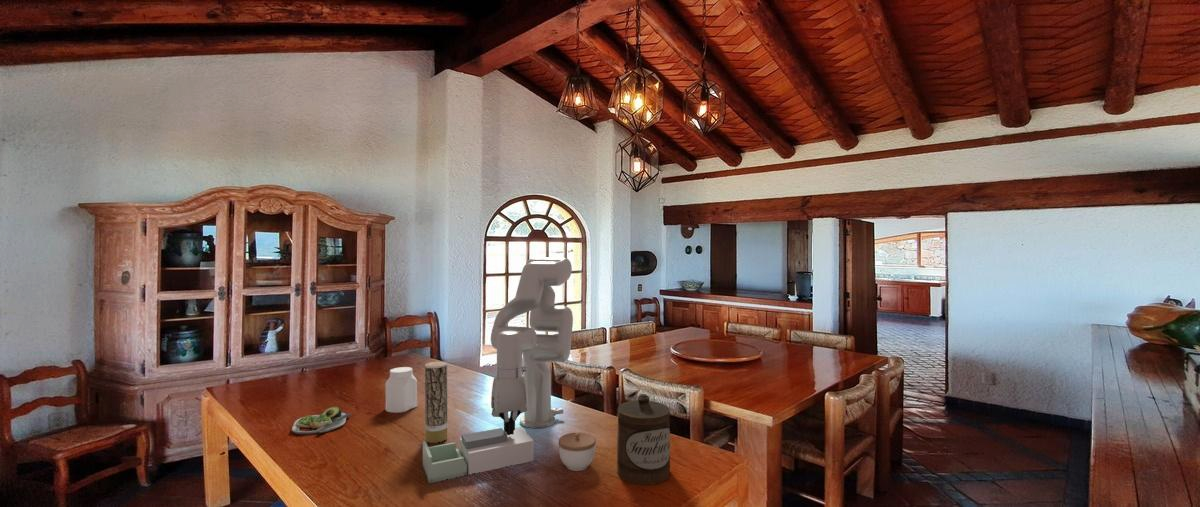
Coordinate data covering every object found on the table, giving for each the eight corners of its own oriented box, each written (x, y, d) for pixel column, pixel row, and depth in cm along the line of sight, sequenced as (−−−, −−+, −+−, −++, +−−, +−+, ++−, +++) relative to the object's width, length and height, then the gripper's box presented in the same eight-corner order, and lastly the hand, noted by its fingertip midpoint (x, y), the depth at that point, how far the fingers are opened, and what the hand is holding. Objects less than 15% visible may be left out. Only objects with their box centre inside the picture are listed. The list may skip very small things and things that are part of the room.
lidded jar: (567, 478, 132) (567, 444, 132) (552, 462, 141) (552, 430, 141) (602, 469, 137) (602, 437, 137) (585, 455, 146) (585, 424, 146)
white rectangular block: (520, 445, 153) (520, 427, 153) (533, 460, 143) (533, 440, 142) (459, 457, 144) (459, 438, 144) (468, 474, 134) (468, 453, 134)
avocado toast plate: (347, 433, 164) (347, 420, 164) (285, 441, 157) (285, 427, 157) (352, 415, 182) (352, 402, 182) (297, 421, 175) (297, 409, 175)
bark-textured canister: (440, 445, 153) (440, 367, 153) (421, 443, 155) (420, 366, 154) (451, 436, 160) (451, 362, 160) (432, 435, 161) (432, 361, 161)
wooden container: (632, 489, 126) (632, 406, 125) (608, 465, 139) (608, 390, 139) (680, 478, 132) (680, 399, 131) (653, 457, 145) (653, 384, 145)
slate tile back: (501, 434, 147) (501, 427, 147) (507, 441, 142) (507, 434, 142) (482, 438, 144) (482, 431, 144) (487, 445, 139) (487, 438, 139)
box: (458, 458, 144) (457, 435, 144) (466, 475, 133) (466, 450, 133) (422, 465, 139) (422, 441, 139) (429, 483, 129) (428, 457, 129)
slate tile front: (481, 437, 144) (481, 431, 144) (487, 445, 139) (487, 438, 139) (461, 441, 141) (461, 434, 141) (466, 449, 136) (466, 442, 136)
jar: (403, 401, 196) (403, 365, 196) (421, 404, 192) (421, 367, 192) (380, 410, 185) (380, 372, 185) (399, 414, 182) (399, 374, 181)
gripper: (528, 367, 152) (528, 425, 152) (481, 372, 144) (481, 433, 145) (537, 372, 145) (537, 433, 145) (488, 378, 138) (488, 442, 138)
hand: (509, 433), depth 145 cm, fingers closed
